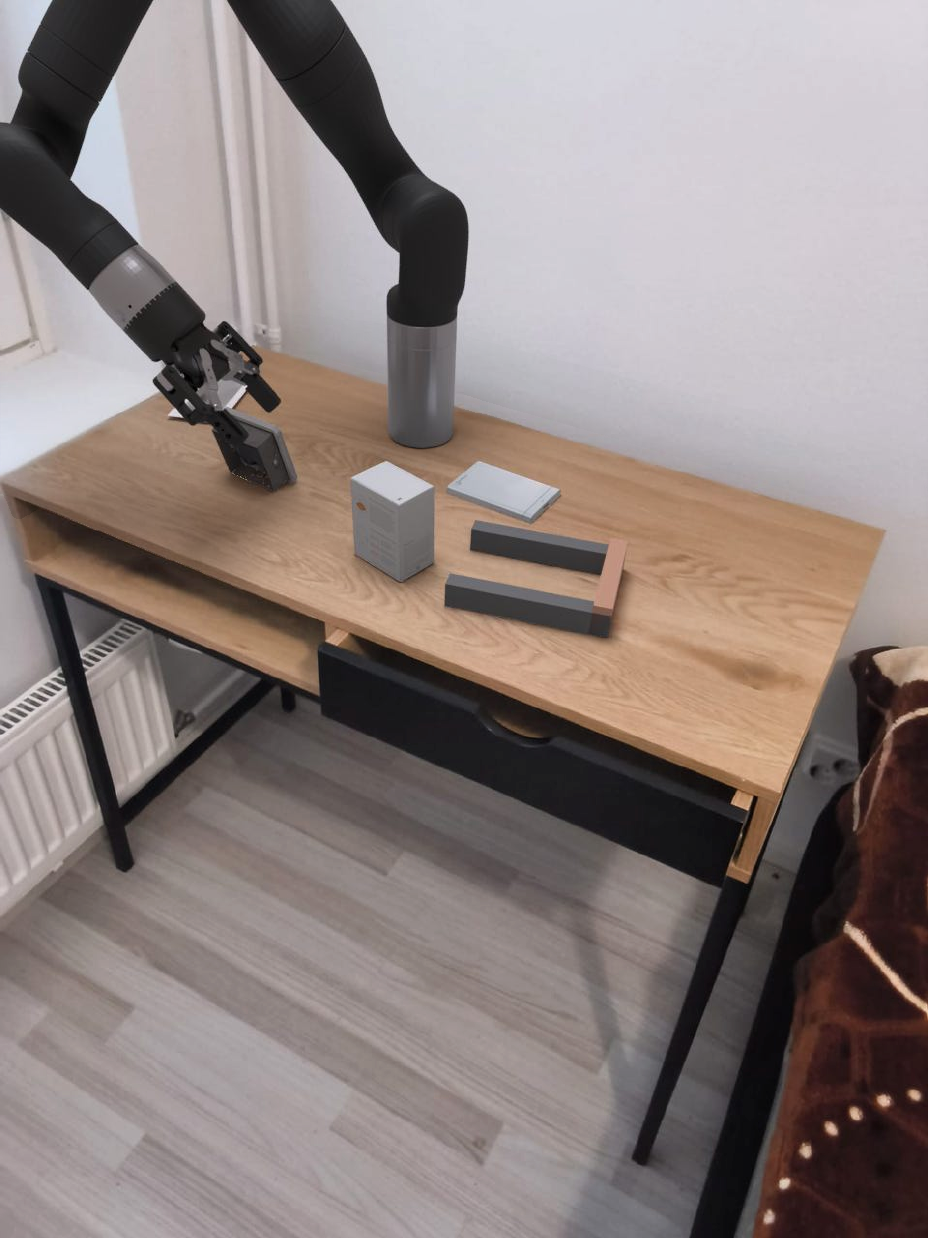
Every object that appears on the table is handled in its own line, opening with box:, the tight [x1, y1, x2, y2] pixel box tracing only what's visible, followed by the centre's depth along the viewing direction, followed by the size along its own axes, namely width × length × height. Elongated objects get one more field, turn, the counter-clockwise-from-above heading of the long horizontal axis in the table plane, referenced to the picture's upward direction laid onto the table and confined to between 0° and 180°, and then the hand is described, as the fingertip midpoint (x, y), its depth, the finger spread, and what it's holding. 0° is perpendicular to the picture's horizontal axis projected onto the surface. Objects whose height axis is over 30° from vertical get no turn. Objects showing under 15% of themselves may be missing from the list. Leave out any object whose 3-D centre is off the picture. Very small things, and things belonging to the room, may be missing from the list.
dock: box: [443, 519, 629, 639], centre depth 103 cm, size 13×18×4 cm
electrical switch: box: [211, 407, 299, 493], centre depth 116 cm, size 9×5×9 cm, turn 57°
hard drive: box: [446, 460, 562, 524], centre depth 119 cm, size 2×8×12 cm
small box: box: [349, 460, 436, 583], centre depth 103 cm, size 8×6×10 cm
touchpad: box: [167, 379, 247, 419], centre depth 135 cm, size 8×15×2 cm, turn 170°
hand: (259, 424), depth 100 cm, fingers open, 8 cm apart
